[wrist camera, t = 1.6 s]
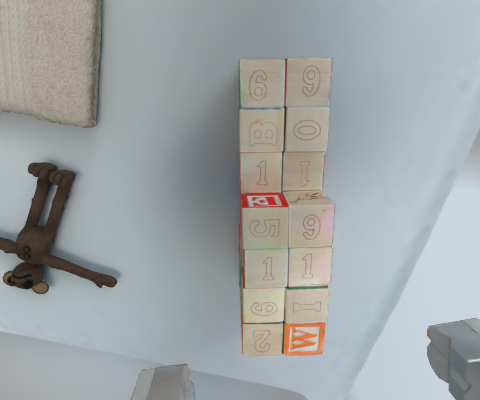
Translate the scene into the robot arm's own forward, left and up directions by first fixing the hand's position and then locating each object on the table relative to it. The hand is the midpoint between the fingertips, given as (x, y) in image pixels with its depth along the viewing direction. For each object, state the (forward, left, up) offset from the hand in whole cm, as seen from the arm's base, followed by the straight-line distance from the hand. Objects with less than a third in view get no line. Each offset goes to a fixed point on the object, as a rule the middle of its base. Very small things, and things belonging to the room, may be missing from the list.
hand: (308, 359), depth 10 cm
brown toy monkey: (+23, 0, -23) cm, 32 cm away
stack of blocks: (-1, 0, -23) cm, 23 cm away
